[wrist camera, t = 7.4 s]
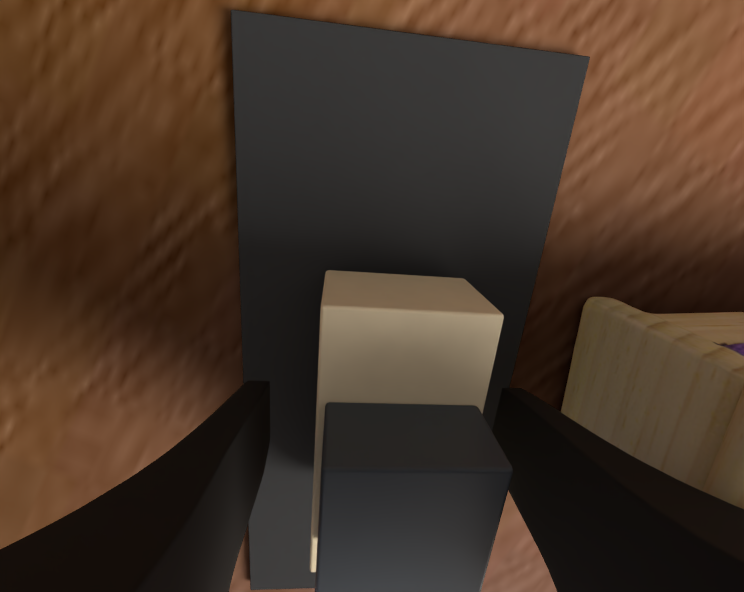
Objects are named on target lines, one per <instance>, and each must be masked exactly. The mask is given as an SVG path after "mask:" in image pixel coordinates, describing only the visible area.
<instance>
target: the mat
mask: <svg viewBox="0 0 744 592" xmlns="http://www.w3.org/2000/svg"><path fill="white" fill-rule="evenodd" d="M231 33H232V62H233V91H234V120H235V150H236V179H237V208H238V237H239V266H240V295H241V325H242V354H243V383H246V382H247V381H248V380H250V381H270V443H269V449H268V454H267V459H266V464H265V469H264V474H263V477H262V481H261V484H260V487H259V490H258V493H257V497H256V500H255V503H254V506H253V509H252V513H251V516H250V519H249V522H248V529H249V558H250V587H251V590H260V589H294V588H315V579H316V572H311V571H310V546H311V522H312V499H313V475H314V452H315V428H316V404H317V381H318V357H319V334H320V310H321V301H322V294H323V287H324V280H325V273H326V271H328V270H335V271H351V272H367V273H384V274H400V275H417V276H433V277H450V278H463V279H465V280H466V281H467V282H468V283H470V284H471V285H472V286H473V287H474V288H475V289H476V290H477V291H478V292H479V293H480V294H481V295H483V296H484V297H485V298H486V299H487V300H488V301H489V302H490V303H491V304H492V305H493V306H495V307H496V308H497V309H498V310H499V311H500V312H501V313H502V314H503V316H504V319H503V324H502V328H501V333H500V337H499V342H498V346H497V351H496V355H495V360H494V364H493V369H492V373H491V378H490V382H489V387H488V391H487V396H486V400H485V405H484V409H483V414H482V415H483V417H484V419H485V420H486V422H487V424H488V426H489V427H490V429H491V431H492V429H493V425H494V420H495V416H496V412H497V408H498V404H499V399H500V395H501V391H502V388H509V386H510V382H511V378H512V374H513V370H514V366H515V362H516V358H517V353H518V349H519V345H520V341H521V337H522V333H523V329H524V325H525V321H526V317H527V313H528V308H529V304H530V300H531V296H532V292H533V288H534V284H535V280H536V276H537V272H538V268H539V263H540V259H541V255H542V251H543V247H544V243H545V239H546V235H547V231H548V227H549V223H550V218H551V214H552V210H553V206H554V202H555V198H556V194H557V190H558V186H559V182H560V178H561V173H562V169H563V165H564V161H565V157H566V153H567V149H568V145H569V141H570V137H571V133H572V128H573V124H574V120H575V116H576V112H577V108H578V104H579V100H580V96H581V92H582V88H583V83H584V79H585V75H586V71H587V67H588V63H589V59H590V57H588V56H580V55H573V54H565V53H558V52H550V51H543V50H535V49H527V48H520V47H512V46H505V45H497V44H489V43H482V42H474V41H467V40H459V39H452V38H444V37H436V36H429V35H421V34H414V33H406V32H398V31H391V30H383V29H376V28H368V27H361V26H353V25H345V24H338V23H330V22H323V21H315V20H307V19H300V18H292V17H285V16H277V15H270V14H262V13H254V12H247V11H239V10H231Z"/></svg>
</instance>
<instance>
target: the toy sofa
mask: <svg viewBox="0 0 744 592" xmlns="http://www.w3.org/2000/svg"><path fill="white" fill-rule="evenodd" d="M561 413H563V414H564V415H566V416H567V417H569V418H570V419H572V420H574V421H575V422H577V423H578V424H580V425H581V426H583V427H585V428H586V429H588V430H589V431H591V432H593V433H594V434H596V435H597V436H599V437H601V438H602V439H604V440H606V441H607V442H609V443H611V444H613V445H614V446H616V447H618V448H619V449H621V450H623V451H625V452H626V453H628V454H630V455H631V456H633V457H635V458H637V459H639V460H641V461H642V462H644V463H646V464H648V465H650V466H652V467H654V468H656V469H658V470H660V471H662V472H664V473H666V474H668V475H670V476H672V477H674V478H675V479H678V480H680V481H682V482H684V483H686V484H688V485H690V486H692V487H694V488H697V489H699V490H701V491H703V492H706V493H708V494H710V495H712V496H714V497H717V498H719V499H721V500H723V501H726V502H728V503H730V504H733V505H735V506H737V507H740V508H742V509H744V312H722V313H676V314H652V313H646V312H643V311H640V310H638V309H636V308H633V307H631V306H629V305H627V304H625V303H623V302H621V301H618V300H615V299H613V298H607V297H591V298H589V299H587V301H586V303H585V305H584V306H583V311H582V316H581V321H580V326H579V330H578V334H577V338H576V342H575V346H574V351H573V356H572V361H571V367H570V372H569V376H568V381H567V386H566V390H565V395H564V400H563V404H562V409H561Z"/></svg>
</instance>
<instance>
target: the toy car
mask: <svg viewBox="0 0 744 592" xmlns="http://www.w3.org/2000/svg"><path fill="white" fill-rule="evenodd" d="M503 319H504V316H503V314H502V313H501V312H500V311H499V310H498V309H497V308H496V307H495V306H493V305H492V304H491V303H490V302H489V301H488V300H487V299H486V298H485V297H484V296H483V295H481V294H480V293H479V292H478V291H477V290H476V289H475V288H474V287H473V286H472V285H471V284H470V283H468V282H467V281H466V280H465V279H463V278H450V277H433V276H417V275H400V274H384V273H367V272H351V271H335V270H328V271H326V273H325V280H324V287H323V294H322V301H321V310H320V334H319V357H318V381H317V404H316V428H315V452H314V475H313V499H312V522H311V546H310V571H311V572H316V579H315V592H481V588H482V584H483V581H484V577H485V573H486V569H487V566H488V562H489V558H490V555H491V551H492V547H493V544H494V540H495V536H496V533H497V529H498V525H499V522H500V518H501V514H502V511H503V507H504V503H505V500H506V496H507V492H508V489H509V485H510V481H511V478H512V474H513V469H512V466H511V464H510V463H509V461H508V459H507V457H506V456H505V454H504V452H503V450H502V449H501V447H500V445H499V443H498V441H497V440H496V438H495V436H494V434H493V433H492V431H491V429H490V427H489V426H488V424H487V422H486V420H485V419H484V417H483V415H482V414H483V409H484V405H485V400H486V396H487V391H488V387H489V382H490V378H491V373H492V369H493V364H494V360H495V355H496V351H497V346H498V342H499V337H500V333H501V328H502V324H503Z"/></svg>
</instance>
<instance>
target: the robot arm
mask: <svg viewBox="0 0 744 592" xmlns="http://www.w3.org/2000/svg"><path fill="white" fill-rule="evenodd" d="M492 433H493V434H494V436H495V438H496V440H497V441H498V443H499V445H500V447H501V449H502V450H503V452H504V454H505V456H506V457H507V459H508V461H509V463H510V464H511V466H512V469H513V474H512V478H511V481H510V485H509V489H508V490H509V492H510V494H511V496H512V498H513V500H514V502H515V504H516V506H517V508H518V510H519V511H520V513H521V515H522V517H523V519H524V521H525V523H526V525H527V527H528V529H529V531H530V533H531V535H532V537H533V539H534V541H535V543H536V544H537V546H538V548H539V550H540V552H541V555H542V557H543V559H544V561H545V563H546V565H547V567H548V570H549V572H550V574H551V577H552V579H553V582H554V584H555V587H556V589H557V592H744V509H742V508H740V507H737V506H735V505H733V504H730V503H728V502H726V501H723V500H721V499H719V498H717V497H714V496H712V495H710V494H708V493H706V492H703V491H701V490H699V489H697V488H694V487H692V486H690V485H688V484H686V483H684V482H682V481H680V480H678V479H675V478H674V477H672V476H670V475H668V474H666V473H664V472H662V471H660V470H658V469H656V468H654V467H652V466H650V465H648V464H646V463H644V462H642V461H641V460H639V459H637V458H635V457H633V456H631V455H630V454H628V453H626V452H625V451H623V450H621V449H619V448H618V447H616V446H614V445H613V444H611V443H609V442H607V441H606V440H604V439H602V438H601V437H599V436H597V435H596V434H594V433H593V432H591V431H589V430H588V429H586V428H585V427H583V426H581V425H580V424H578V423H577V422H575V421H574V420H572V419H570V418H569V417H567V416H566V415H564V414H563V413H561V412H560V411H558V410H556V409H555V408H553V407H552V406H550V405H549V404H547V403H546V402H544V401H542V400H541V399H539V398H538V397H536V396H534V395H533V394H531V393H529V392H527V391H525V390H523V389H522V388H502V391H501V395H500V399H499V404H498V408H497V412H496V416H495V420H494V425H493V429H492ZM269 443H270V381H250V380H248V381H247V382H246V383H244V384H243V385H242V386H241V387H240V388H239V389H238V390H237V391H236V392H235V393H234V394H233V395H232V396H231V397H230V398H229V399H228V400H227V401H226V402H225V403H224V404H223V405H222V406H220V407H219V408H218V409H217V410H216V411H215V412H214V413H213V414H212V415H211V416H210V417H208V418H207V419H206V420H205V421H204V422H203V423H202V424H201V425H200V426H198V427H197V428H196V429H195V430H194V431H192V432H191V433H190V434H189V435H188V436H186V437H185V438H184V439H183V440H181V441H180V442H179V443H178V444H177V445H175V446H174V447H173V448H172V449H170V450H169V451H168V452H166V453H165V454H164V455H162V456H161V457H160V458H158V459H157V460H155V461H154V462H153V463H151V464H150V465H148V466H147V467H145V468H144V469H142V470H141V471H139V472H138V473H137V474H135V475H134V476H132V477H130V478H129V479H127V480H126V481H124V482H122V483H121V484H119V485H118V486H116V487H114V488H113V489H111V490H109V491H108V492H106V493H104V494H103V495H101V496H99V497H98V498H96V499H94V500H93V501H91V502H89V503H88V504H86V505H85V506H83V507H81V508H79V509H77V510H76V511H74V512H72V513H70V514H68V515H67V516H65V517H63V518H61V519H59V520H57V521H55V522H54V523H52V524H50V525H48V526H46V527H44V528H42V529H40V530H38V531H36V532H34V533H32V534H30V535H29V536H27V537H25V538H23V539H21V540H19V541H17V542H15V543H13V544H11V545H9V546H7V547H4V548H2V549H0V592H229V588H230V584H231V579H232V575H233V571H234V568H235V564H236V561H237V557H238V554H239V551H240V547H241V544H242V541H243V538H244V535H245V532H246V528H247V525H248V522H249V519H250V516H251V513H252V509H253V506H254V503H255V500H256V497H257V493H258V490H259V487H260V484H261V481H262V477H263V474H264V469H265V464H266V459H267V454H268V449H269Z"/></svg>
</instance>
